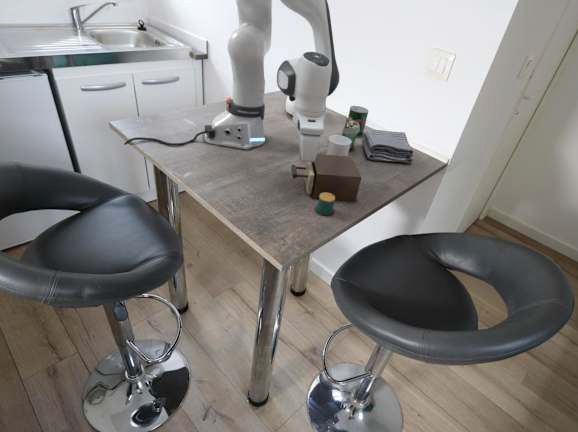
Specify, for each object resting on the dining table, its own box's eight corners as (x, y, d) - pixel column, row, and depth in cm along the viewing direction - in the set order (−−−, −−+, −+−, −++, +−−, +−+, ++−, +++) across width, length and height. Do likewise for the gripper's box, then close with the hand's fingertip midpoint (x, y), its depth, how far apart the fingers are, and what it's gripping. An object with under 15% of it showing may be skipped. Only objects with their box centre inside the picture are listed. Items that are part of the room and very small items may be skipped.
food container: (353, 156, 134) (359, 131, 129) (338, 152, 135) (343, 128, 129) (356, 144, 145) (362, 120, 139) (341, 140, 145) (346, 117, 139)
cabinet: (312, 198, 106) (317, 173, 101) (308, 176, 117) (311, 153, 112) (355, 201, 108) (361, 177, 103) (346, 179, 119) (352, 156, 114)
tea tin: (317, 214, 99) (320, 200, 96) (315, 205, 103) (318, 191, 100) (333, 215, 100) (336, 201, 97) (330, 206, 103) (333, 192, 100)
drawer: (291, 193, 105) (294, 173, 101) (289, 173, 115) (291, 154, 111) (346, 197, 107) (351, 178, 104) (339, 177, 117) (343, 159, 113)
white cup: (339, 173, 121) (345, 146, 116) (319, 165, 124) (324, 139, 118) (349, 165, 127) (355, 140, 121) (330, 158, 130) (335, 133, 124)
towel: (359, 144, 145) (363, 126, 140) (401, 148, 147) (407, 131, 143) (367, 161, 132) (372, 142, 128) (412, 165, 135) (419, 147, 130)
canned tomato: (362, 131, 157) (368, 107, 150) (362, 138, 150) (369, 113, 144) (344, 128, 157) (350, 104, 150) (344, 135, 150) (350, 110, 144)
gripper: (294, 103, 105) (290, 146, 113) (300, 130, 89) (295, 177, 97) (315, 105, 106) (309, 147, 114) (325, 132, 90) (317, 178, 98)
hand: (302, 161), depth 105 cm, fingers closed
